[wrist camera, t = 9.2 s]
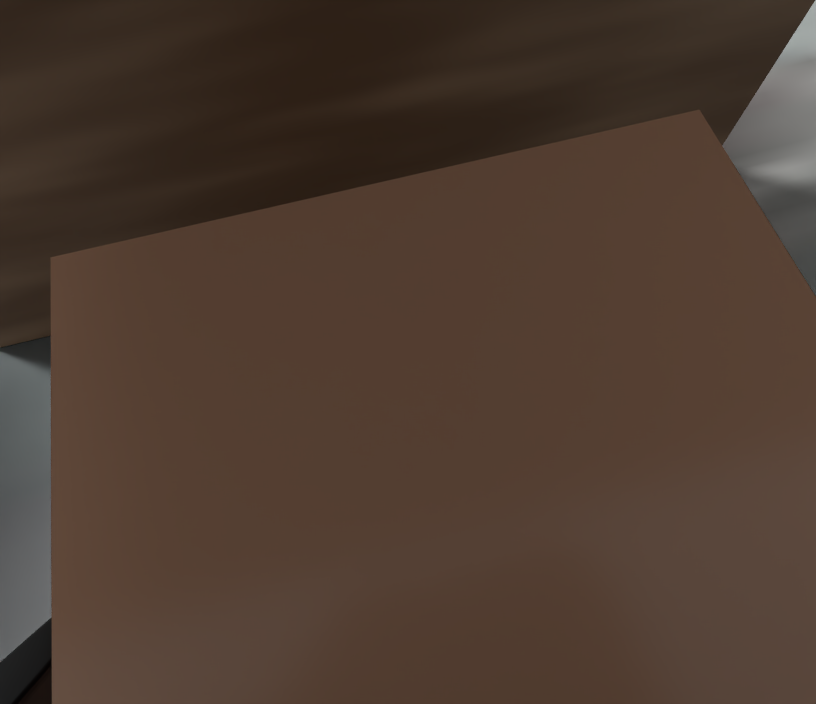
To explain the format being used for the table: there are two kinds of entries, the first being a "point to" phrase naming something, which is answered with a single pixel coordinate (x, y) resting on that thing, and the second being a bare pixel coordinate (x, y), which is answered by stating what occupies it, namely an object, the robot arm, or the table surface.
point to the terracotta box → (444, 443)
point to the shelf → (322, 102)
